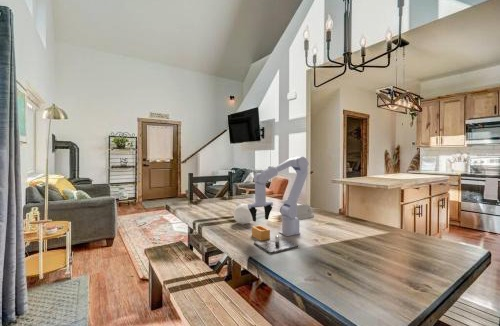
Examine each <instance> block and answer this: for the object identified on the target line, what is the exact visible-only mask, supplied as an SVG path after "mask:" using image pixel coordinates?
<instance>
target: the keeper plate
mask: <svg viewBox="0 0 500 326" xmlns="http://www.w3.org/2000/svg"><path fill="white" fill-rule="evenodd" d="M253 245H255V246H257V247H258V248H260V249H261V250H263V251H264V252H265V253H267V254H269V255H272V254H273V255H274V254H278V253H281V252H286V251H290V250H293V249H294V250H295V249H299V245H298V244H296V243H294V242H292V241H290V240H288V239H286V238H283V237H282V236H279V235H275V236H274V237H271V238H270V239H266V240H261V241H260V240H257V241H253Z"/></svg>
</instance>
